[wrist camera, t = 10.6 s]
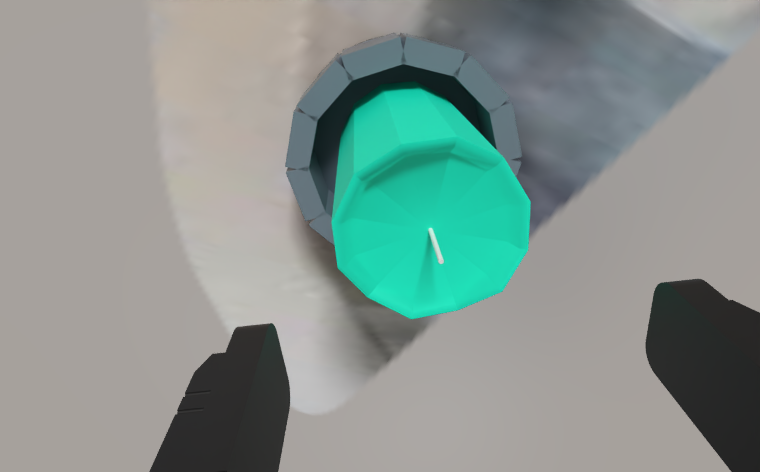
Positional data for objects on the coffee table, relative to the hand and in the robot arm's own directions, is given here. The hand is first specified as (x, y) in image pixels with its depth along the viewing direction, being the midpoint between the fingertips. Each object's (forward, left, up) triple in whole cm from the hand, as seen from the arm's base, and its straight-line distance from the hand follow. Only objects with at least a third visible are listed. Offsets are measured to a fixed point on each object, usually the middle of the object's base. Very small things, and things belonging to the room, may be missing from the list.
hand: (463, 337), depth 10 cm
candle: (0, 0, -15) cm, 15 cm away
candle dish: (0, 0, -16) cm, 16 cm away
